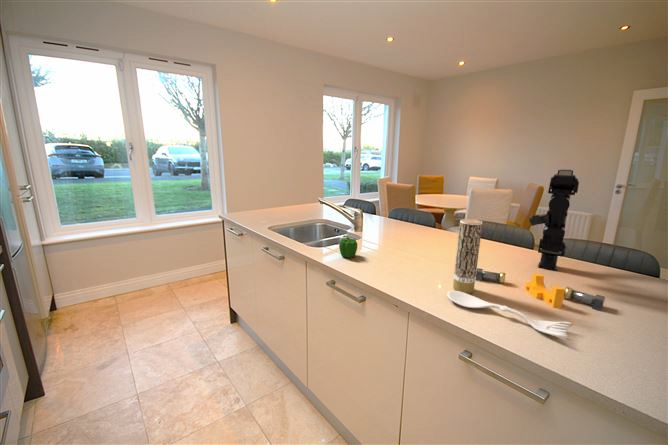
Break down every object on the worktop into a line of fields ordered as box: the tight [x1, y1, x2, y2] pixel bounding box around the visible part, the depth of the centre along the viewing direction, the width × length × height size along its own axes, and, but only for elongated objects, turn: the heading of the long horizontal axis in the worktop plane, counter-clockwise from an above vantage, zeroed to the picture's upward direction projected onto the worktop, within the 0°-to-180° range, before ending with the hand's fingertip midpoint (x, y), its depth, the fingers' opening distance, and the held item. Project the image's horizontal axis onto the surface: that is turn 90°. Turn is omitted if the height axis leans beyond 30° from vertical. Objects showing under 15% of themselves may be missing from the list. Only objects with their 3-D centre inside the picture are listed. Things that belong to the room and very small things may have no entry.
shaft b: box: [475, 267, 506, 285], centre depth 111 cm, size 10×4×4 cm, turn 62°
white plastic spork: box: [447, 289, 573, 340], centre depth 87 cm, size 9×32×4 cm, turn 46°
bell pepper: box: [338, 235, 358, 259], centre depth 135 cm, size 8×8×10 cm
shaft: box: [563, 286, 606, 312], centre depth 95 cm, size 10×4×4 cm, turn 42°
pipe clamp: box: [524, 273, 566, 309], centre depth 98 cm, size 12×4×6 cm, turn 178°
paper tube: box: [452, 218, 483, 294], centre depth 101 cm, size 7×7×25 cm
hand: (550, 249), depth 112 cm, fingers closed
